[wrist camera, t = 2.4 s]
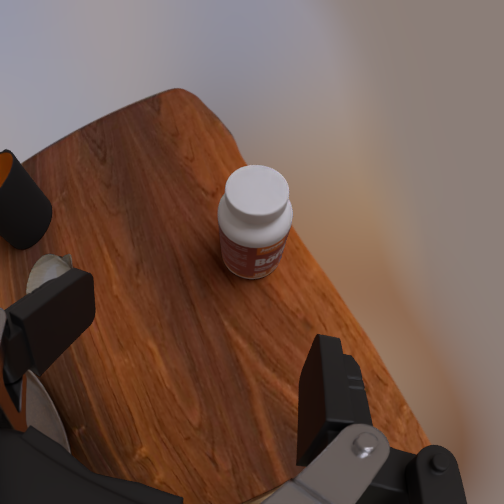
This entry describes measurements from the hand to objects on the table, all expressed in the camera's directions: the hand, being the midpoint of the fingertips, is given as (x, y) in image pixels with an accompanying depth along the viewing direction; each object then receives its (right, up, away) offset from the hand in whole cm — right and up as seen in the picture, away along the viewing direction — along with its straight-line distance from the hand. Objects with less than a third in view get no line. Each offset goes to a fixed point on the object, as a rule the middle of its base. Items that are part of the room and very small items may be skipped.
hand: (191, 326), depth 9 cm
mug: (-29, +8, +23) cm, 38 cm away
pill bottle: (+2, +2, +22) cm, 22 cm away
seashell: (-20, -2, +19) cm, 28 cm away
